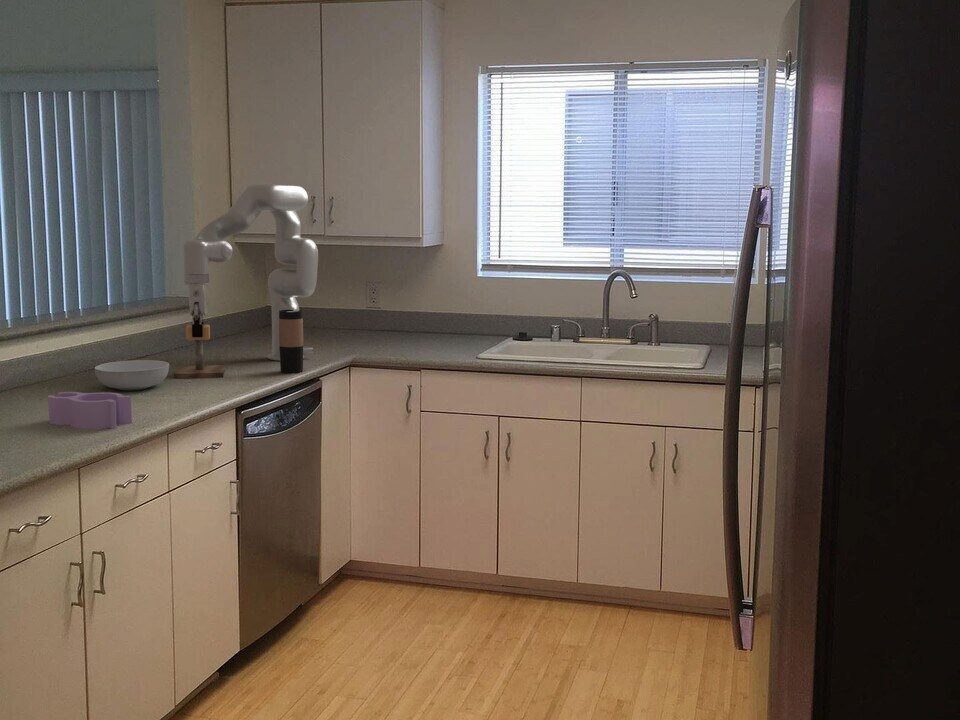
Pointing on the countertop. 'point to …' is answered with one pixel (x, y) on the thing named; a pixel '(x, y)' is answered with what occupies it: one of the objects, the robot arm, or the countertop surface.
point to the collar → (205, 337)
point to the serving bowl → (132, 374)
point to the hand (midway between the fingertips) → (198, 335)
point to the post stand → (199, 366)
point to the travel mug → (291, 341)
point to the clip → (90, 410)
